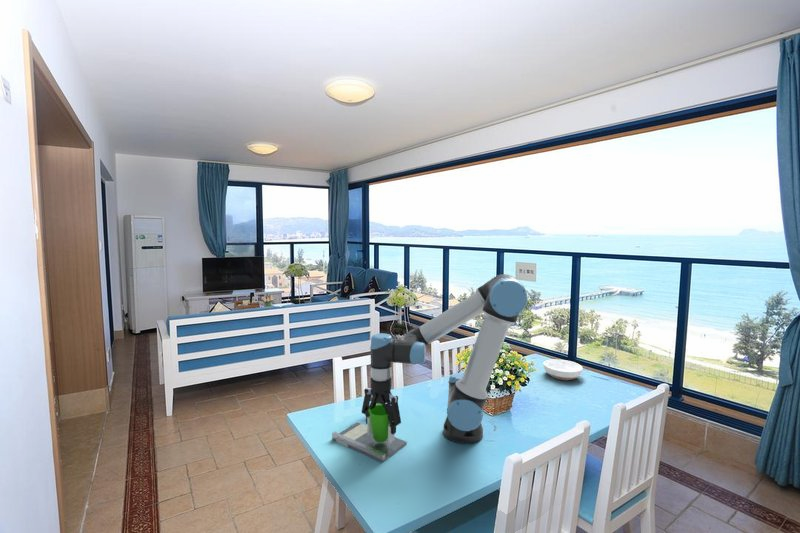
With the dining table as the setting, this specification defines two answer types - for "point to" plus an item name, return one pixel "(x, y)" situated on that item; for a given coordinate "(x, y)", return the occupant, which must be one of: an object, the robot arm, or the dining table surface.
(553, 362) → the bowl
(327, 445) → the dining table surface
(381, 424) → the cup
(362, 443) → the grey flat piece
